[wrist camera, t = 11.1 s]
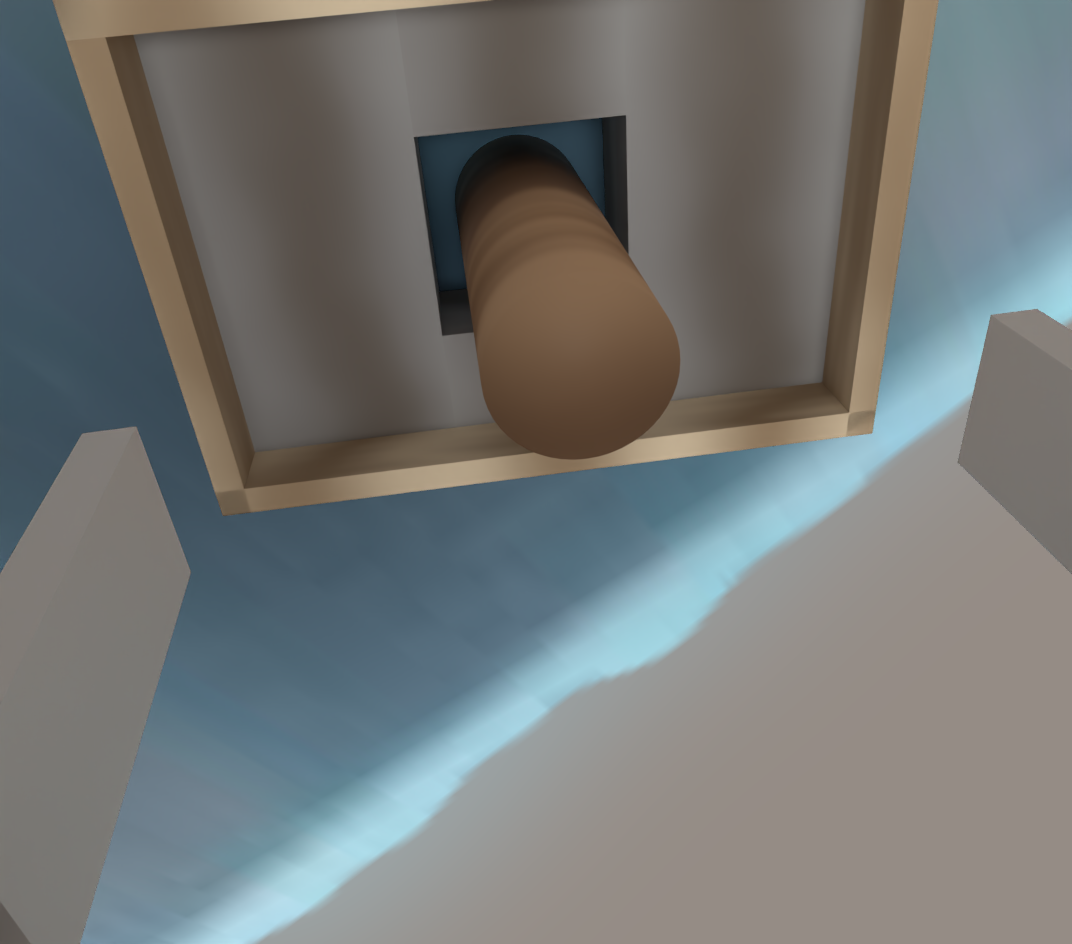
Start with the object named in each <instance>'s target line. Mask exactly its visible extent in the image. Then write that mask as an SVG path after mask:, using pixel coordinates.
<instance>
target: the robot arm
mask: <svg viewBox="0 0 1072 944" xmlns="http://www.w3.org/2000/svg"><path fill="white" fill-rule="evenodd" d="M958 463H959V464H960V465H961V466H962V467H963V468H964V469H965V470H966V471H967V472H968V473H969V474H970V475H971V476H972V477H973V478H974V479H975V480H976V481H977V482H978V483H979V484H980V485H981V486H982V487H984V489H985V490H987V492H988V493H989V494H990V495H991V496H992V497H994V498H995V500H997V501H998V502H999V503H1000V504H1001V505H1002V506H1003V507H1004V508H1005V509H1006V510H1007V511H1008V512H1009V513H1010V514H1011V515H1012V516H1013V517H1014V518H1015V519H1016V520H1017V521H1018V522H1019V523H1020V524H1021V525H1022V526H1023V527H1024V528H1025V529H1026V530H1027V531H1028V532H1029V533H1030V534H1031V535H1032V536H1034V538H1035V539H1036V540H1037V541H1038V542H1039V543H1040V544H1042V546H1043V547H1044V548H1046V549H1047V550H1048V551H1049V552H1050V553H1051V554H1052V555H1053V556H1054V557H1055V558H1056V559H1057V560H1058V561H1059V562H1060V563H1061V564H1062V565H1063V566H1064V567H1065V568H1066V569H1067V570H1068V571H1069V572H1070V573H1071V574H1072V330H1070V329H1068V328H1067V327H1065V326H1064V325H1062V324H1060V323H1059V322H1057V321H1055V320H1054V319H1052V318H1051V317H1049V316H1047V315H1046V314H1044V313H1043V312H1041V311H1039V310H1038V309H1033V310H1025V311H1018V312H1010V313H1002V314H995V315H991V317H990V321H989V326H988V330H987V334H986V339H985V343H984V348H983V352H982V357H981V361H980V365H979V370H978V374H977V379H976V383H975V388H974V392H973V396H972V401H971V405H970V410H969V415H968V419H967V423H966V428H965V432H964V437H963V441H962V445H961V450H960V454H959V459H958ZM190 574H191V571H190V568H189V566H188V563H187V560H186V558H185V555H184V552H183V550H182V547H181V544H180V542H179V539H178V536H177V534H176V531H175V528H174V526H173V523H172V520H171V518H170V515H169V512H168V510H167V507H166V504H165V502H164V499H163V496H162V494H161V491H160V488H159V486H158V483H157V480H156V478H155V475H154V473H153V470H152V467H151V465H150V462H149V459H148V457H147V454H146V451H145V449H144V446H143V443H142V441H141V438H140V435H139V433H138V430H137V427H128V428H121V429H113V430H105V431H98V432H90V433H82V435H81V436H80V438H79V440H78V442H77V443H76V445H75V447H74V448H73V450H72V452H71V454H70V455H69V457H68V459H67V460H66V462H65V464H64V466H63V467H62V469H61V471H60V472H59V474H58V476H57V478H56V479H55V481H54V483H53V484H52V486H51V488H50V490H49V491H48V493H47V495H46V496H45V498H44V500H43V502H42V503H41V505H40V507H39V508H38V510H37V512H36V513H35V515H34V517H33V519H32V520H31V522H30V524H29V525H28V527H27V529H26V531H25V532H24V534H23V536H22V537H21V539H20V541H19V543H18V544H17V546H16V548H15V549H14V551H13V553H12V555H11V556H10V558H9V560H8V561H7V563H6V565H5V567H4V568H3V570H2V572H1V573H0V944H80V941H81V938H82V935H83V931H84V928H85V925H86V921H87V918H88V915H89V911H90V908H91V905H92V901H93V898H94V895H95V891H96V888H97V885H98V881H99V878H100V875H101V871H102V868H103V864H104V861H105V858H106V854H107V851H108V848H109V844H110V841H111V838H112V834H113V831H114V828H115V824H116V821H117V818H118V814H119V811H120V808H121V804H122V801H123V798H124V794H125V791H126V788H127V784H128V781H129V778H130V774H131V771H132V768H133V764H134V761H135V758H136V754H137V751H138V748H139V744H140V741H141V738H142V734H143V731H144V728H145V724H146V721H147V718H148V714H149V711H150V707H151V704H152V701H153V697H154V694H155V691H156V687H157V684H158V681H159V677H160V674H161V671H162V667H163V664H164V661H165V657H166V654H167V651H168V647H169V644H170V641H171V637H172V634H173V631H174V627H175V624H176V621H177V617H178V614H179V611H180V607H181V604H182V601H183V597H184V594H185V591H186V587H187V584H188V581H189V577H190Z"/></svg>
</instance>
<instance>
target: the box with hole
mask: <svg viewBox="0 0 1072 944" xmlns="http://www.w3.org/2000/svg"><path fill="white" fill-rule="evenodd" d="M53 3H54V6H55V9H56V12H57V15H58V18H59V21H60V24H61V27H62V30H63V33H64V36H65V39H66V42H67V46H68V49H69V52H70V55H71V58H72V61H73V64H74V67H75V70H76V73H77V76H78V79H79V82H80V85H81V88H82V91H83V94H84V97H85V100H86V103H87V106H88V109H89V112H90V115H91V118H92V121H93V124H94V127H95V130H96V133H97V136H98V139H99V142H100V145H101V148H102V151H103V155H104V158H105V161H106V164H107V167H108V170H109V173H110V176H111V179H112V182H113V185H114V188H115V191H116V194H117V197H118V200H119V203H120V206H121V209H122V212H123V215H124V218H125V221H126V224H127V227H128V230H129V233H130V236H131V239H132V242H133V245H134V248H135V251H136V254H137V257H138V260H139V264H140V267H141V270H142V273H143V276H144V279H145V282H146V285H147V288H148V291H149V294H150V297H151V300H152V303H153V306H154V309H155V312H156V315H157V318H158V321H159V324H160V327H161V330H162V333H163V336H164V339H165V342H166V345H167V348H168V351H169V354H170V357H171V360H172V363H173V366H174V370H175V373H176V376H177V379H178V382H179V385H180V388H181V391H182V394H183V397H184V400H185V403H186V406H187V409H188V412H189V415H190V418H191V421H192V424H193V427H194V430H195V433H196V436H197V439H198V442H199V445H200V448H201V451H202V454H203V457H204V460H205V463H206V466H207V469H208V472H209V475H210V479H211V482H212V485H213V488H214V491H215V494H216V497H217V500H218V503H219V506H220V509H221V512H222V515H223V516H227V515H235V514H243V513H250V512H258V511H266V510H274V509H282V508H290V507H298V506H305V505H313V504H321V503H329V502H337V501H345V500H352V499H360V498H368V497H376V496H384V495H392V494H400V493H407V492H415V491H423V490H431V489H439V488H447V487H455V486H462V485H470V484H478V483H486V482H494V481H502V480H509V479H517V478H525V477H533V476H541V475H549V474H557V473H564V472H572V471H580V470H588V469H596V468H604V467H612V466H619V465H627V464H635V463H643V462H651V461H659V460H666V459H674V458H682V457H690V456H698V455H706V454H714V453H721V452H729V451H737V450H745V449H753V448H761V447H768V446H776V445H784V444H792V443H800V442H808V441H816V440H823V439H831V438H839V437H847V436H855V435H863V434H871V433H872V431H873V424H874V418H875V411H876V405H877V398H878V392H879V385H880V379H881V372H882V366H883V359H884V353H885V346H886V340H887V333H888V327H889V320H890V313H891V307H892V300H893V294H894V287H895V281H896V274H897V268H898V261H899V255H900V248H901V242H902V235H903V229H904V222H905V216H906V209H907V203H908V196H909V189H910V183H911V176H912V170H913V163H914V157H915V150H916V144H917V137H918V131H919V124H920V118H921V111H922V105H923V98H924V92H925V85H926V79H927V72H928V66H929V59H930V52H931V46H932V39H933V33H934V26H935V20H936V13H937V7H938V0H53ZM593 118H602V125H603V156H604V187H605V218H606V220H607V222H608V223H609V225H610V227H611V228H612V230H613V231H614V233H615V234H616V236H617V238H618V239H619V241H620V242H621V244H622V245H623V247H624V249H625V250H626V252H627V253H628V255H629V256H630V258H631V260H632V261H633V263H634V264H635V266H636V267H637V269H638V271H639V272H640V274H641V275H642V277H643V278H644V280H645V282H646V283H647V285H648V286H649V288H650V289H651V291H652V293H653V294H654V296H655V297H656V299H657V300H658V302H659V304H660V305H661V307H662V308H663V310H664V311H665V313H666V315H667V316H668V318H669V320H670V322H671V323H672V325H673V327H674V330H675V333H676V335H677V338H678V343H679V348H680V373H679V378H678V382H677V386H676V389H675V391H674V394H673V397H672V399H671V401H670V403H669V404H668V406H667V408H666V409H665V411H664V412H663V414H662V415H661V417H660V418H659V419H658V420H657V421H656V423H655V424H654V425H653V426H652V427H651V428H650V429H649V430H648V431H646V432H645V433H644V434H643V435H642V436H640V437H639V438H638V439H636V440H635V441H633V442H632V443H630V444H628V445H627V446H625V447H623V448H621V449H619V450H616V451H614V452H612V453H609V454H605V455H602V456H599V457H594V458H588V459H578V460H567V459H557V458H550V457H547V456H543V455H540V454H537V453H534V452H532V451H530V450H527V449H526V448H524V447H522V446H521V445H519V444H517V443H516V442H515V441H513V440H512V439H511V438H509V437H508V436H507V435H506V434H505V433H504V432H503V431H502V430H501V429H500V428H499V426H498V425H497V423H496V422H495V421H494V419H493V418H492V416H491V414H490V412H489V410H488V408H487V405H486V403H485V400H484V396H483V392H482V387H481V380H480V373H479V366H478V359H477V352H476V345H475V338H474V331H473V325H472V318H471V311H470V304H469V297H468V290H467V289H459V290H450V291H441V292H439V286H438V279H437V272H436V264H435V257H434V250H433V243H432V236H431V229H430V222H429V215H428V208H427V201H426V194H425V187H424V180H423V173H422V166H421V159H420V152H419V144H418V137H420V136H430V135H440V134H449V133H459V132H468V131H478V130H488V129H497V128H507V127H517V126H526V125H536V124H545V123H555V122H565V121H574V120H584V119H593Z"/></svg>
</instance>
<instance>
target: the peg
mask: <svg viewBox="0 0 1072 944" xmlns="http://www.w3.org/2000/svg"><path fill="white" fill-rule="evenodd" d="M455 206H456V214H457V221H458V228H459V235H460V242H461V249H462V255H463V262H464V269H465V276H466V283H467V290H468V297H469V304H470V311H471V318H472V325H473V331H474V338H475V345H476V352H477V359H478V366H479V373H480V380H481V387H482V392H483V396H484V400H485V403H486V405H487V408H488V410H489V412H490V414H491V416H492V418H493V419H494V421H495V422H496V423H497V425H498V426H499V428H500V429H501V430H502V431H503V432H504V433H505V434H506V435H507V436H508V437H509V438H511V439H512V440H513V441H515V442H516V443H517V444H519V445H521V446H522V447H524V448H526V449H527V450H530V451H532V452H534V453H537V454H540V455H543V456H547V457H550V458H557V459H567V460H578V459H588V458H594V457H599V456H602V455H605V454H609V453H612V452H614V451H616V450H619V449H621V448H623V447H625V446H627V445H628V444H630V443H632V442H633V441H635V440H636V439H638V438H639V437H640V436H642V435H643V434H644V433H645V432H646V431H648V430H649V429H650V428H651V427H652V426H653V425H654V424H655V423H656V421H657V420H658V419H659V418H660V417H661V415H662V414H663V412H664V411H665V409H666V408H667V406H668V404H669V403H670V401H671V399H672V397H673V394H674V391H675V389H676V386H677V382H678V378H679V373H680V348H679V343H678V338H677V335H676V333H675V330H674V327H673V325H672V323H671V322H670V320H669V318H668V316H667V315H666V313H665V311H664V310H663V308H662V307H661V305H660V304H659V302H658V300H657V299H656V297H655V296H654V294H653V293H652V291H651V289H650V288H649V286H648V285H647V283H646V282H645V280H644V278H643V277H642V275H641V274H640V272H639V271H638V269H637V267H636V266H635V264H634V263H633V261H632V260H631V258H630V256H629V255H628V253H627V252H626V250H625V249H624V247H623V245H622V244H621V242H620V241H619V239H618V238H617V236H616V234H615V233H614V231H613V230H612V228H611V227H610V225H609V223H608V222H607V220H606V219H605V217H604V216H603V214H602V212H601V211H600V209H599V208H598V206H597V205H596V203H595V201H594V200H593V198H592V197H591V195H590V194H589V192H588V190H587V189H586V187H585V186H584V184H583V183H582V181H581V179H580V178H579V176H578V175H577V173H576V172H575V170H574V168H573V167H572V165H571V164H570V162H569V161H568V160H567V158H566V157H565V156H564V155H563V154H562V153H561V152H560V151H559V150H558V149H557V148H556V147H554V146H553V145H552V144H550V143H548V142H546V141H544V140H542V139H539V138H536V137H532V136H527V135H511V136H505V137H501V138H498V139H495V140H493V141H491V142H489V143H487V144H486V145H484V146H483V147H481V148H480V149H479V150H478V151H476V152H475V153H474V154H473V155H472V157H471V158H470V159H469V160H468V162H467V163H466V165H465V166H464V168H463V170H462V172H461V174H460V176H459V179H458V182H457V187H456V193H455Z"/></svg>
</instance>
